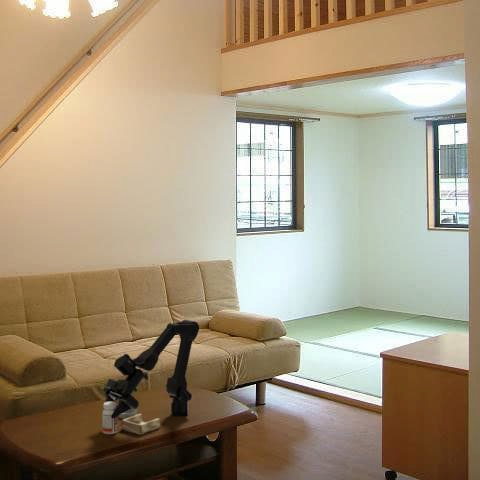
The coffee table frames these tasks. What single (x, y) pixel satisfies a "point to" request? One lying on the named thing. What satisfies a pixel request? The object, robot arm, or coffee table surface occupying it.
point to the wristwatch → (128, 413)
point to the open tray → (139, 424)
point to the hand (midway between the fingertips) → (107, 415)
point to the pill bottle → (110, 423)
